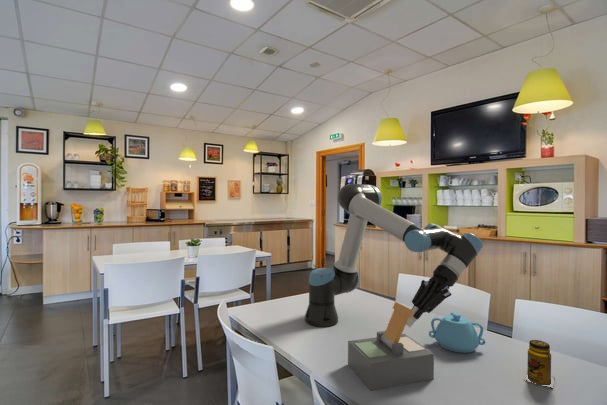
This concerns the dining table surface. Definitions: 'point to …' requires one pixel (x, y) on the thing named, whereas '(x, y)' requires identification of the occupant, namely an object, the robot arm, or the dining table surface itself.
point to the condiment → (539, 363)
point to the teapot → (457, 333)
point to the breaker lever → (396, 324)
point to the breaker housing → (390, 362)
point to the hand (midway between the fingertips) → (406, 324)
